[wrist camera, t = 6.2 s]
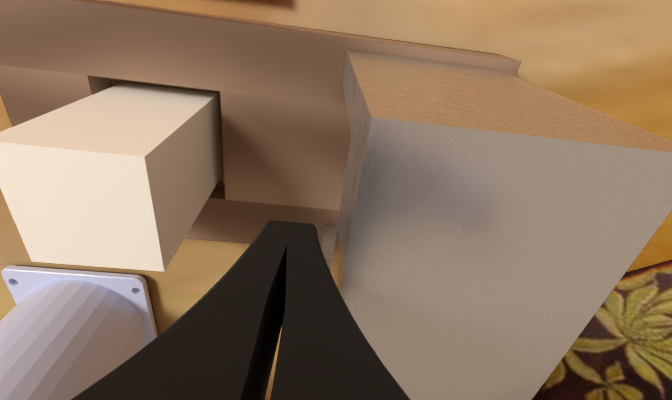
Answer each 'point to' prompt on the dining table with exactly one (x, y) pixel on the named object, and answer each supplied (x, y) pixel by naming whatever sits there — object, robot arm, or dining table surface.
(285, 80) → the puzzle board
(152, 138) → the cream block
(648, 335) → the decorative box
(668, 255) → the dining table surface
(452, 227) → the sliding cover
